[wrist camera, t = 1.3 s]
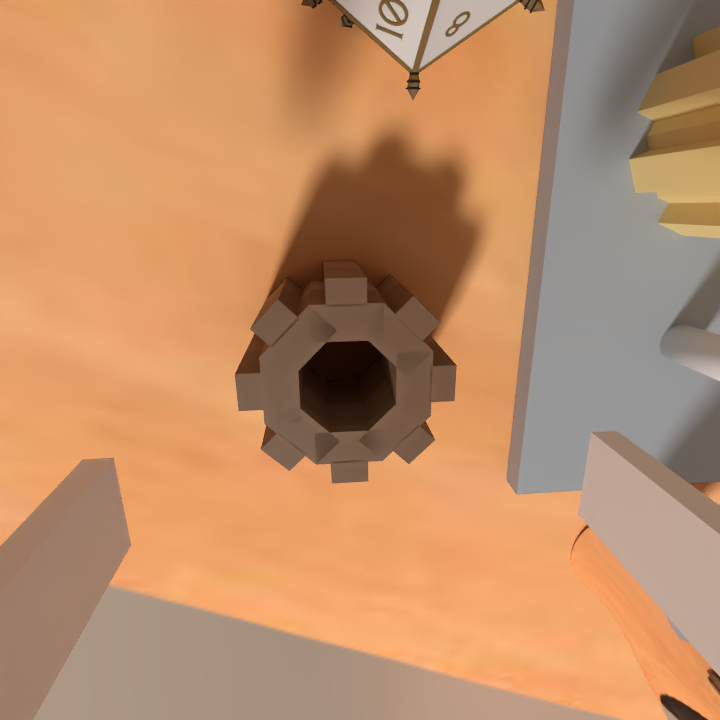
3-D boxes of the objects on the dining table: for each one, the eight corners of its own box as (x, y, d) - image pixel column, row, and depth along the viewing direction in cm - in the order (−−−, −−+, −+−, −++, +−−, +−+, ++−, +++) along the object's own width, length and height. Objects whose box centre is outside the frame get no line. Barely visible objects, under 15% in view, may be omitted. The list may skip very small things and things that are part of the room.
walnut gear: (248, 262, 23) (225, 280, 17) (426, 258, 23) (462, 275, 18) (262, 425, 26) (246, 488, 20) (420, 418, 26) (449, 476, 21)
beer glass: (674, 562, 32) (965, 852, 17) (581, 605, 32) (791, 921, 18) (648, 488, 29) (957, 752, 15) (549, 535, 30) (759, 833, 16)
